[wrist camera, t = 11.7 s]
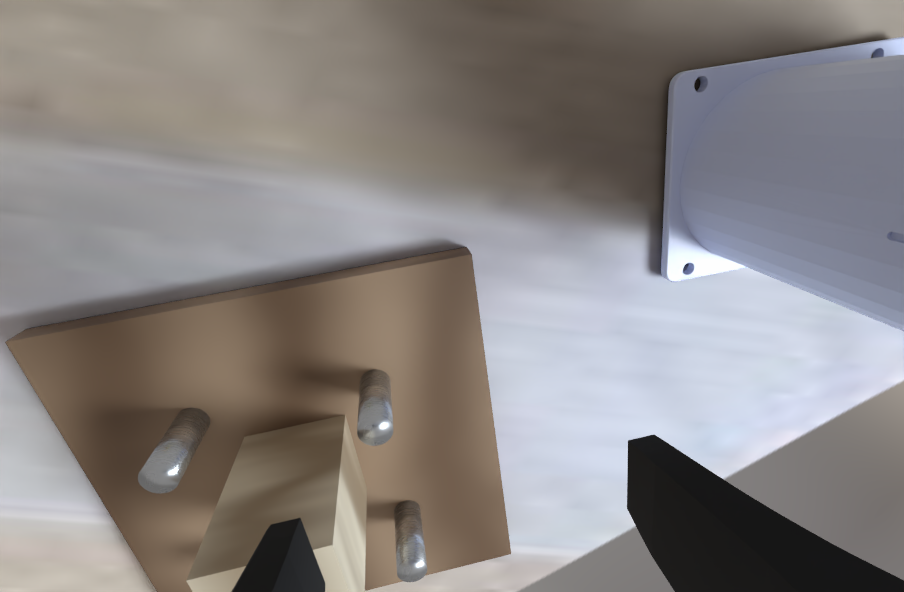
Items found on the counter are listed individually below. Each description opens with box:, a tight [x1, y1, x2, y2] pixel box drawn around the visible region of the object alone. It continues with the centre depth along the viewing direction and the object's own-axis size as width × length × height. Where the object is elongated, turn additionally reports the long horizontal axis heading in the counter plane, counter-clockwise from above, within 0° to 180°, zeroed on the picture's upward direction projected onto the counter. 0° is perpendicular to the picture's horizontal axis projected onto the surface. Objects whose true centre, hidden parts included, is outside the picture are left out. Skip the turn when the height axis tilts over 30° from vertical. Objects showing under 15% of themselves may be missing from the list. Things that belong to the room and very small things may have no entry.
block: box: [186, 415, 367, 592], centre depth 16 cm, size 4×4×6 cm
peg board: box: [5, 247, 511, 592], centre depth 18 cm, size 16×16×4 cm
